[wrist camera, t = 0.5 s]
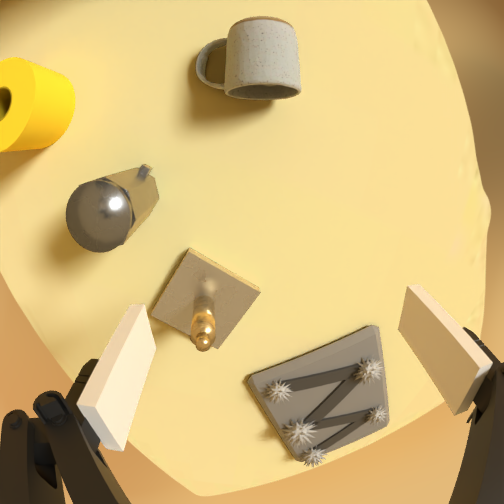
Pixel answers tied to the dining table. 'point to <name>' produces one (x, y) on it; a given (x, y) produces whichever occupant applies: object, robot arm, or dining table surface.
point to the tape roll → (32, 105)
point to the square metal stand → (204, 300)
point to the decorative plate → (327, 395)
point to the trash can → (111, 208)
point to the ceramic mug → (257, 60)
